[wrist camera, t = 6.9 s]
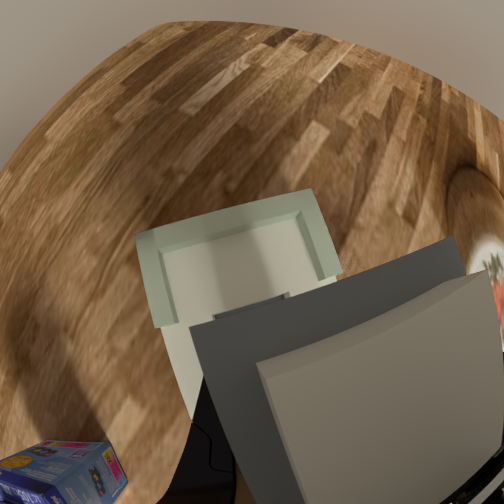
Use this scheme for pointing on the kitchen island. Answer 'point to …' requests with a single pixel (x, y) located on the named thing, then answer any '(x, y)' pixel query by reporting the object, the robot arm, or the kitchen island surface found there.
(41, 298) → the kitchen island surface
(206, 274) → the socket box
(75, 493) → the ink cartridge box
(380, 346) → the plug
